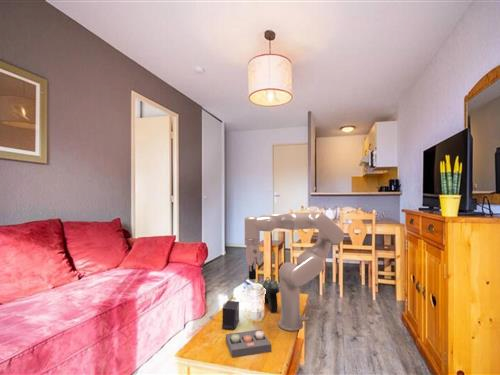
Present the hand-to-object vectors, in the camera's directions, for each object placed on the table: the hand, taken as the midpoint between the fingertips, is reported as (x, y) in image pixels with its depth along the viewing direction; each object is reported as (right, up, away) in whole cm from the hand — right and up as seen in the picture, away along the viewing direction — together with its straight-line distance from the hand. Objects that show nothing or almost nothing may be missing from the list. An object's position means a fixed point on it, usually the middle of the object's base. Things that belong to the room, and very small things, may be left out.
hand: (252, 279), depth 138 cm
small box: (-11, -26, +5) cm, 28 cm away
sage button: (-8, -22, -16) cm, 28 cm away
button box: (-2, -25, -15) cm, 29 cm away
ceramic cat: (+10, -26, +28) cm, 40 cm away
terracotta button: (-2, -23, -15) cm, 28 cm away
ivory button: (+3, -22, -13) cm, 26 cm away
